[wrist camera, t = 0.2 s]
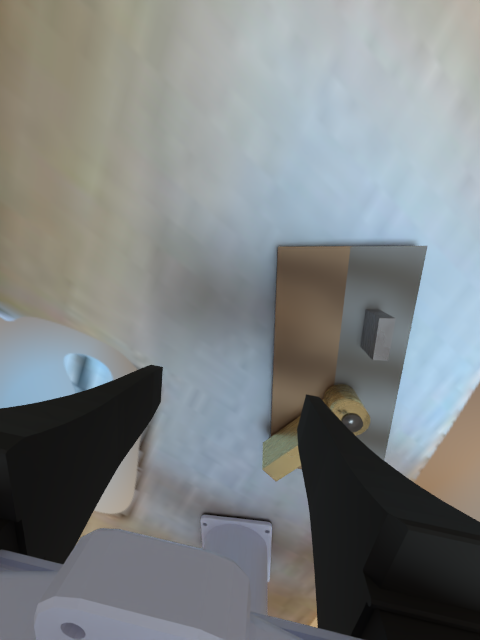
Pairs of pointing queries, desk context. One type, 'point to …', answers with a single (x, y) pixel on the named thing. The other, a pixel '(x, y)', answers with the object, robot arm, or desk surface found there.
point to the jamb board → (341, 328)
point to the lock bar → (284, 444)
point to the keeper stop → (377, 334)
